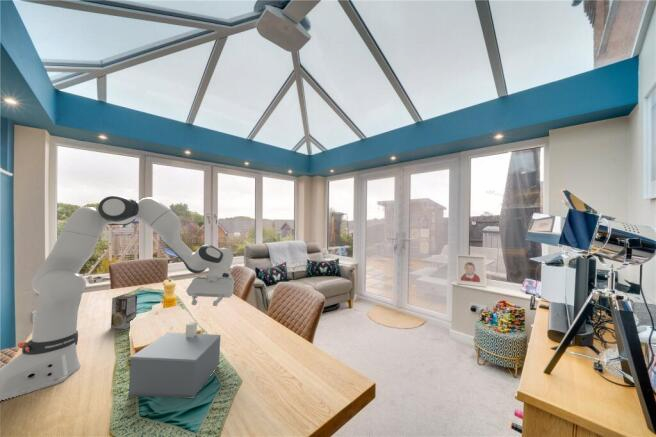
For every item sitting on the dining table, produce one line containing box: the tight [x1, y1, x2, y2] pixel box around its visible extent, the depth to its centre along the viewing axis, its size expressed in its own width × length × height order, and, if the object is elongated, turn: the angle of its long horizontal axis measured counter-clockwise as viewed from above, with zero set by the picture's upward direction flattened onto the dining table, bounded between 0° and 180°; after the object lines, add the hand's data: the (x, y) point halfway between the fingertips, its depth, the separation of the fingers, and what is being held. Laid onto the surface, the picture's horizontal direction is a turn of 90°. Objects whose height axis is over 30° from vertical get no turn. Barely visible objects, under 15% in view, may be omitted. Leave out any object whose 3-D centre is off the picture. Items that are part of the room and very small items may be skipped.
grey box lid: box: [130, 321, 221, 362], centre depth 89 cm, size 18×22×6 cm
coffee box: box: [110, 294, 138, 330], centre depth 130 cm, size 9×6×16 cm
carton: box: [128, 337, 221, 399], centre depth 89 cm, size 18×22×12 cm
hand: (204, 304), depth 105 cm, fingers open, 8 cm apart
